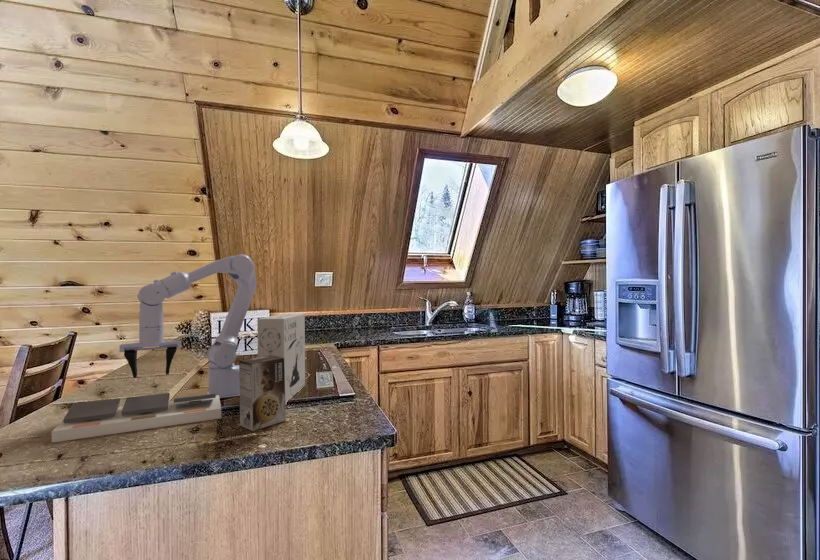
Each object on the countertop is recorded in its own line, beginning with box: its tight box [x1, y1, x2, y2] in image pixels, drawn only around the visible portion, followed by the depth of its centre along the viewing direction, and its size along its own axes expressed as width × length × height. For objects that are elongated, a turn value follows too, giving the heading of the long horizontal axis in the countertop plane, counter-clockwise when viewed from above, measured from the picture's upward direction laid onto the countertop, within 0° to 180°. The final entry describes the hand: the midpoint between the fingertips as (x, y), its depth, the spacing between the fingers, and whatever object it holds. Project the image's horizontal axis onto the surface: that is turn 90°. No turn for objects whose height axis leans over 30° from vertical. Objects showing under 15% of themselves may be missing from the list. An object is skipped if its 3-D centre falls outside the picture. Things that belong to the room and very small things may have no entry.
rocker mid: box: [121, 392, 171, 416], centre depth 104 cm, size 10×8×1 cm
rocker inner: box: [173, 393, 216, 403], centre depth 109 cm, size 10×8×1 cm
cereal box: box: [257, 312, 306, 406], centre depth 126 cm, size 22×8×25 cm, turn 179°
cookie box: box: [238, 355, 287, 432], centre depth 101 cm, size 9×6×16 cm
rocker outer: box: [62, 398, 121, 423], centre depth 99 cm, size 10×8×1 cm
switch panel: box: [51, 395, 222, 443], centre depth 104 cm, size 34×15×3 cm, turn 117°
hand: (151, 375), depth 114 cm, fingers open, 7 cm apart
